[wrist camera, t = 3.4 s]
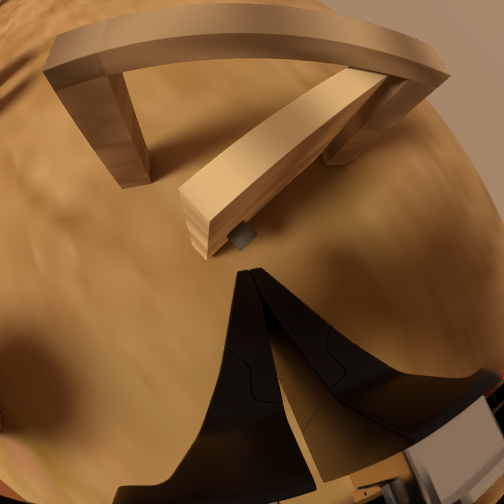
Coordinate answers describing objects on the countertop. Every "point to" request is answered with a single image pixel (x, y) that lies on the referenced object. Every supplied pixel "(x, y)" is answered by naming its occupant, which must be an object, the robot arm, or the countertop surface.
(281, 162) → the door
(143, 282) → the countertop surface
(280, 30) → the frame
